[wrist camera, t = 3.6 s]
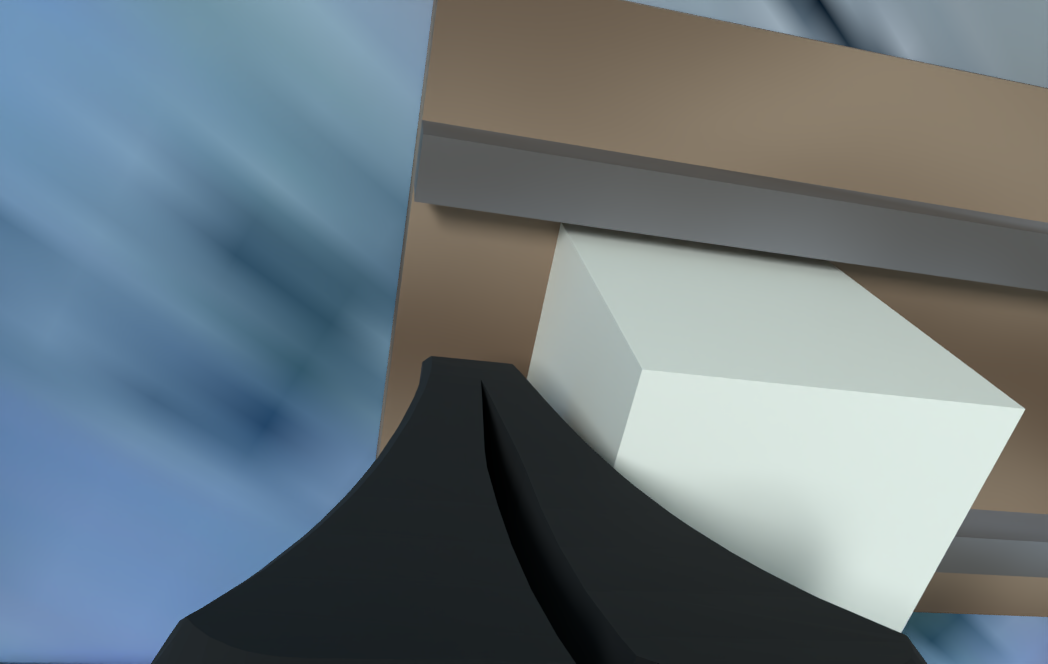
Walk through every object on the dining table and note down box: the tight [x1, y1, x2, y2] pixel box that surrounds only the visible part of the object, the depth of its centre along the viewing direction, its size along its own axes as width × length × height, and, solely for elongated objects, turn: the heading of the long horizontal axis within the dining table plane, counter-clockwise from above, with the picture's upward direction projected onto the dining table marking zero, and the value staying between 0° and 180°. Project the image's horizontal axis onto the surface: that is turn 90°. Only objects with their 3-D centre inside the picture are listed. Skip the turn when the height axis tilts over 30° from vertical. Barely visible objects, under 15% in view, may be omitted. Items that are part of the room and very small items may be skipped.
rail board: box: [376, 0, 1048, 617], centre depth 15 cm, size 12×22×4 cm, turn 79°
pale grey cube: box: [527, 223, 1025, 633], centre depth 12 cm, size 5×5×5 cm
